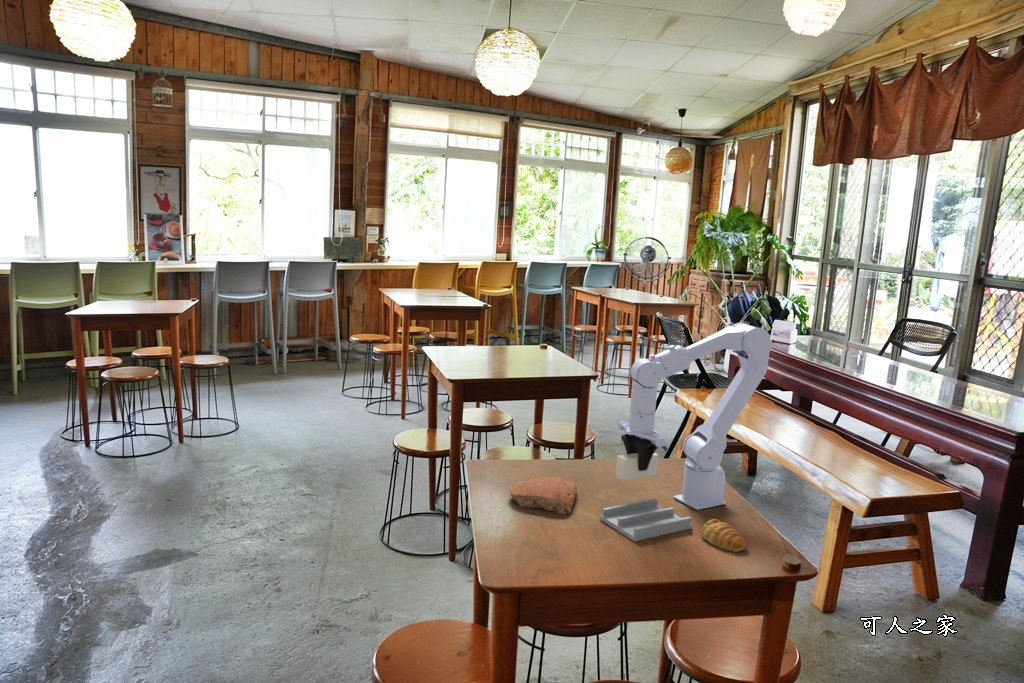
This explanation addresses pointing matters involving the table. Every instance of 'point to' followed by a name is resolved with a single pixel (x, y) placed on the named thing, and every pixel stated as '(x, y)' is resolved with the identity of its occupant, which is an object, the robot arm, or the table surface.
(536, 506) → the ceramic shard
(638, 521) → the grey ridged tray
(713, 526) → the pastry
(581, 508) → the table surface
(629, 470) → the white rectangular block
